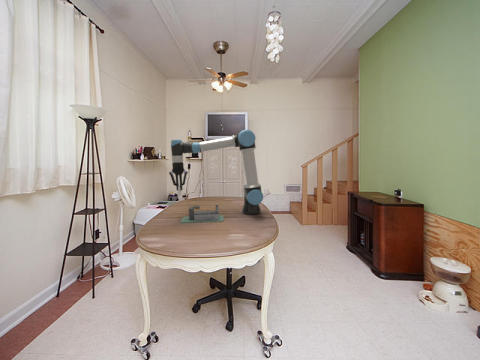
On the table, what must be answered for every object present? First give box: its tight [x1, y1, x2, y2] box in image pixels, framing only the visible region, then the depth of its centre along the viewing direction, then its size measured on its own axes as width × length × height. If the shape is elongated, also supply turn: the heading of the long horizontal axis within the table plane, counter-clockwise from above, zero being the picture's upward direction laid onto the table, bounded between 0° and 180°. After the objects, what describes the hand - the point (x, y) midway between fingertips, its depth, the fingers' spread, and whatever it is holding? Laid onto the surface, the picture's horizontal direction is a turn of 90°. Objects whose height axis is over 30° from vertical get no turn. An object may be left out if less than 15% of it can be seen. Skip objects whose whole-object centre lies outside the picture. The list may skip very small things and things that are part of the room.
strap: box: [194, 207, 216, 211], centre depth 152 cm, size 17×4×1 cm, turn 95°
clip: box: [188, 205, 201, 220], centre depth 152 cm, size 7×6×9 cm
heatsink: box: [194, 204, 220, 221], centre depth 153 cm, size 17×11×9 cm, turn 95°
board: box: [179, 214, 224, 224], centre depth 153 cm, size 30×13×1 cm, turn 95°
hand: (179, 194), depth 149 cm, fingers closed
